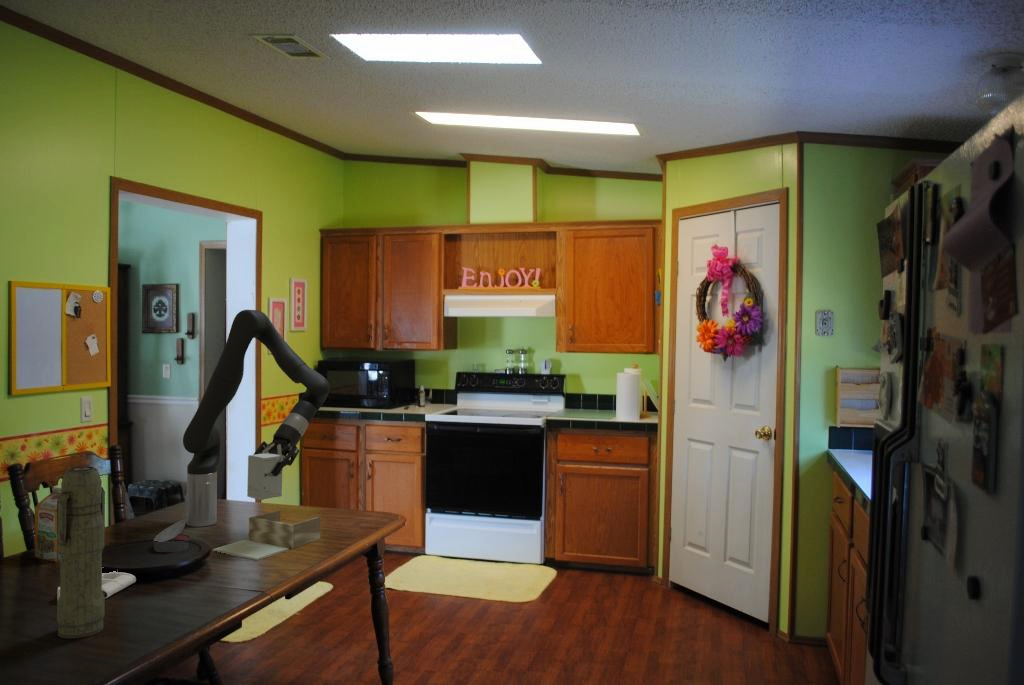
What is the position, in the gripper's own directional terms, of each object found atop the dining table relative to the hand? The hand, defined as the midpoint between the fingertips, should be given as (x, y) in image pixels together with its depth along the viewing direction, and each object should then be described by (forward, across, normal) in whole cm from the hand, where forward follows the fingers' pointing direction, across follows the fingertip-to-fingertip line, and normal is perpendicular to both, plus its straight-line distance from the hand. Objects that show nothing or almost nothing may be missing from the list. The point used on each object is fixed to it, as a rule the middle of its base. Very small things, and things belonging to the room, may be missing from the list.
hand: (263, 473), depth 229 cm
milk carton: (+40, -42, -8) cm, 59 cm away
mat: (+19, 0, +12) cm, 23 cm away
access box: (+9, 0, +22) cm, 24 cm away
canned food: (+26, -22, +6) cm, 35 cm away
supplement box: (+5, 0, +6) cm, 8 cm away
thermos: (+62, +14, -31) cm, 71 cm away
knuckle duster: (+50, -7, -18) cm, 54 cm away
